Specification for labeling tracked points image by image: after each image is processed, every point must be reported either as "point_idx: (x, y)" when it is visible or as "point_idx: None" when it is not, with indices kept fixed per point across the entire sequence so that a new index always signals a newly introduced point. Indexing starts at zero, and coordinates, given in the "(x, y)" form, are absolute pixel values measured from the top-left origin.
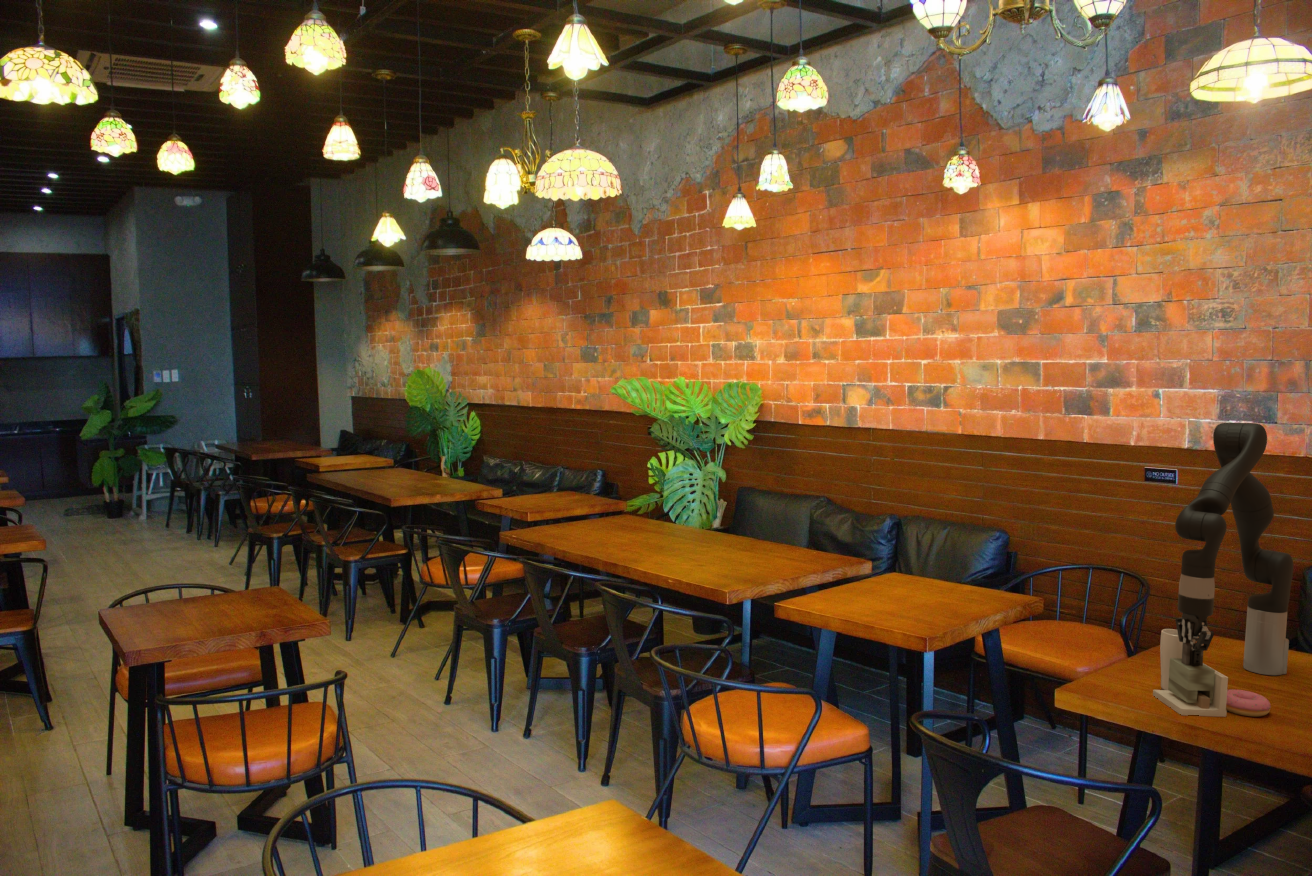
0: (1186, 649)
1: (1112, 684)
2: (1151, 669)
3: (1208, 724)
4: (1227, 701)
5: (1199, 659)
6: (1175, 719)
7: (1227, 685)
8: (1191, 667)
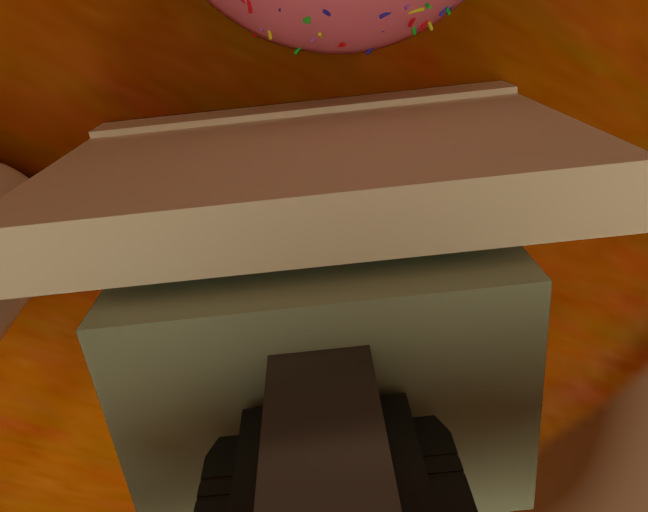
0: None
1: (31, 505)
2: None
3: (634, 253)
4: (413, 30)
5: (461, 471)
6: (556, 388)
7: (611, 135)
8: None
